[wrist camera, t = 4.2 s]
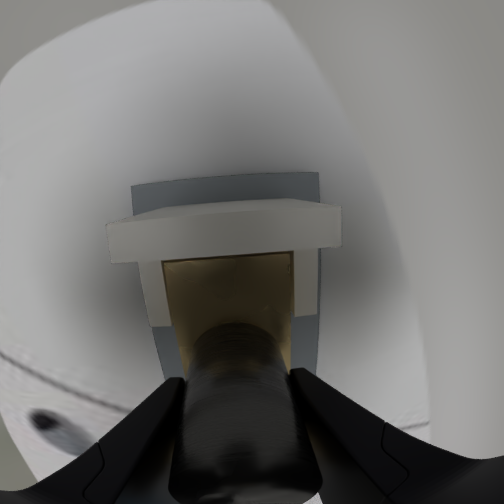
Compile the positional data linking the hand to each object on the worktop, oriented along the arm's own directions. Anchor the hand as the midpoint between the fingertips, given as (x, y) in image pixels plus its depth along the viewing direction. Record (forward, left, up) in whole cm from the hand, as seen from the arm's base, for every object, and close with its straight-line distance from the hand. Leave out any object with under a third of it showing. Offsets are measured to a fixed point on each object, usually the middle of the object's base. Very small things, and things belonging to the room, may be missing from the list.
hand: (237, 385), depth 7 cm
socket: (+3, 0, -8) cm, 8 cm away
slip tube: (-4, 0, -5) cm, 6 cm away
